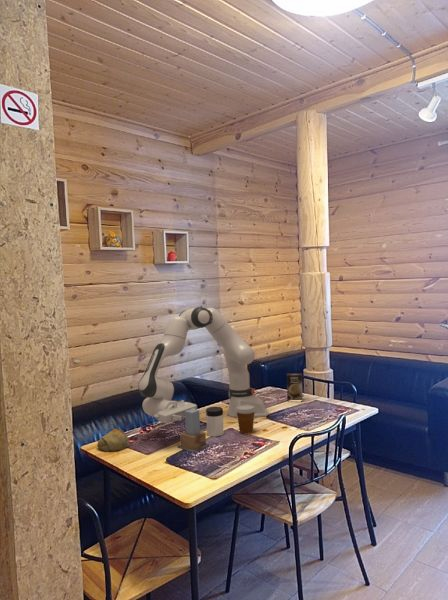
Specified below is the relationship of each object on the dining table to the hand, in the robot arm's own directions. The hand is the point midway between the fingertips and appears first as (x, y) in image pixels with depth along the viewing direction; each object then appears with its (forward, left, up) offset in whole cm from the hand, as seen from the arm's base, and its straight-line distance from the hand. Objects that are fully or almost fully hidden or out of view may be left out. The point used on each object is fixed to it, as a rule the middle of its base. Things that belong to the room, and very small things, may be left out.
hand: (189, 415), depth 197 cm
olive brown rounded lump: (+35, -3, -14) cm, 38 cm away
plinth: (-1, +1, -14) cm, 14 cm away
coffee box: (-59, -65, -14) cm, 89 cm away
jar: (-11, -14, -14) cm, 23 cm away
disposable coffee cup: (-26, -15, -14) cm, 33 cm away
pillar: (-1, +1, -8) cm, 8 cm away
